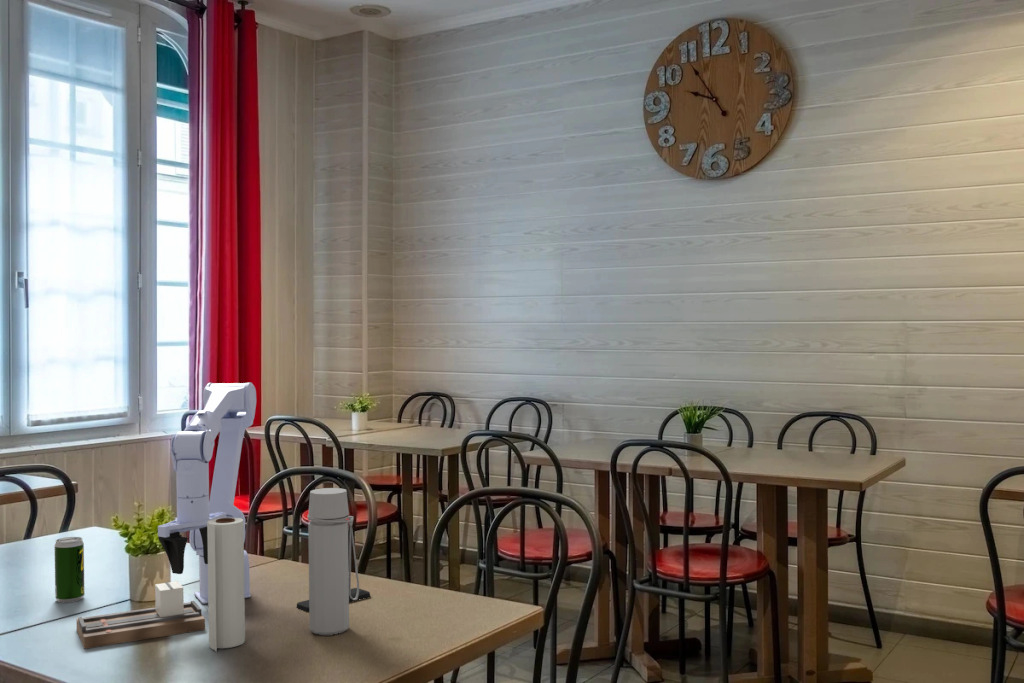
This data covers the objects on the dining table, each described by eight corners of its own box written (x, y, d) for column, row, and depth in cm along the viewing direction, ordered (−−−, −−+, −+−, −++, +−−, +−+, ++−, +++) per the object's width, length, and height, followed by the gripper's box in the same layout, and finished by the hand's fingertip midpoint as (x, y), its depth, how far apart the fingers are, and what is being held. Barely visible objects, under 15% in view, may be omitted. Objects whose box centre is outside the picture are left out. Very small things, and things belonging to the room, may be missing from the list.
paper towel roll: (231, 635, 173) (230, 514, 172) (252, 642, 169) (250, 519, 168) (195, 646, 167) (193, 521, 167) (216, 653, 163) (214, 525, 163)
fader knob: (178, 607, 182) (177, 580, 182) (183, 613, 178) (183, 587, 178) (155, 610, 180) (155, 583, 180) (160, 617, 176) (160, 590, 176)
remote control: (308, 617, 186) (372, 598, 197) (307, 608, 186) (372, 589, 196) (294, 612, 190) (358, 593, 200) (293, 603, 190) (358, 585, 200)
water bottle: (315, 639, 170) (313, 496, 169) (303, 627, 177) (301, 489, 176) (366, 631, 174) (364, 491, 174) (352, 620, 181) (350, 485, 181)
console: (191, 612, 187) (190, 596, 187) (205, 629, 176) (204, 613, 176) (76, 629, 177) (76, 613, 177) (84, 648, 166) (84, 631, 166)
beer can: (57, 604, 193) (56, 543, 192) (53, 598, 197) (52, 538, 197) (87, 600, 196) (86, 540, 195) (82, 594, 200) (81, 535, 200)
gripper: (207, 487, 190) (208, 557, 191) (145, 500, 178) (147, 574, 178) (234, 490, 187) (235, 561, 187) (172, 503, 174) (173, 579, 174)
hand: (193, 568), depth 182 cm, fingers open, 7 cm apart
